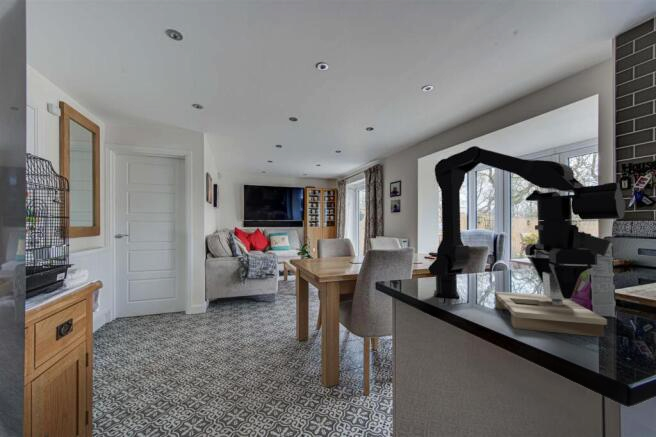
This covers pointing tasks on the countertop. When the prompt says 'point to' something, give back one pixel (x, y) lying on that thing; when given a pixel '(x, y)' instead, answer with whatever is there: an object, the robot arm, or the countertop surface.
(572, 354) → the countertop surface
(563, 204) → the robot arm
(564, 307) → the keyhole plate
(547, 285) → the peg
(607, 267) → the candy bar box
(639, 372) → the countertop surface
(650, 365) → the countertop surface
